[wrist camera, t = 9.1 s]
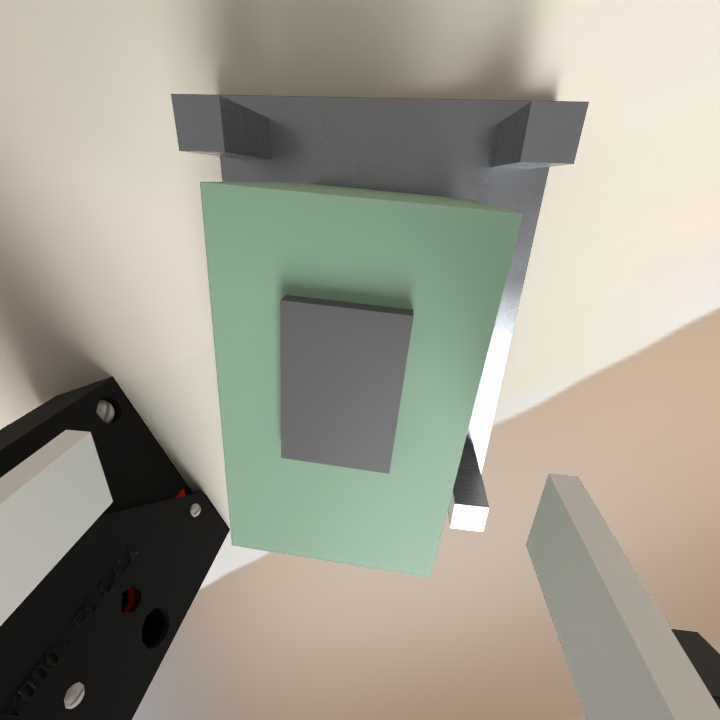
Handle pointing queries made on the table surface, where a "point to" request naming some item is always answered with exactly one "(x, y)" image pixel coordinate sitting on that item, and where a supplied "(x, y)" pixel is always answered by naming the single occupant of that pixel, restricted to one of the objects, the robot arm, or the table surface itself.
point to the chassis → (404, 185)
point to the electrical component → (105, 570)
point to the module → (349, 361)
